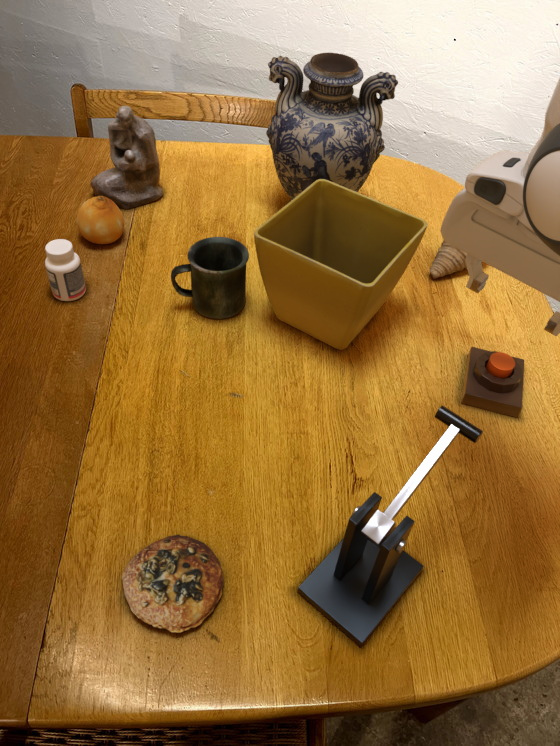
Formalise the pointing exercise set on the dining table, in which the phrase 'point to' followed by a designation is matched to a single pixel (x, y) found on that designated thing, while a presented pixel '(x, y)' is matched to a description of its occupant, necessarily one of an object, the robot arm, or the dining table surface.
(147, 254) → the dining table surface
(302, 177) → the decorative vase
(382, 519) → the lever
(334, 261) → the flower pot
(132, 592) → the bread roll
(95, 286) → the dining table surface
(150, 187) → the figurine
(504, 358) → the button
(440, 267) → the seashell
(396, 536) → the bracket
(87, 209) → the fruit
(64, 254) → the pill bottle
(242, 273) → the mug
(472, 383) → the button block
